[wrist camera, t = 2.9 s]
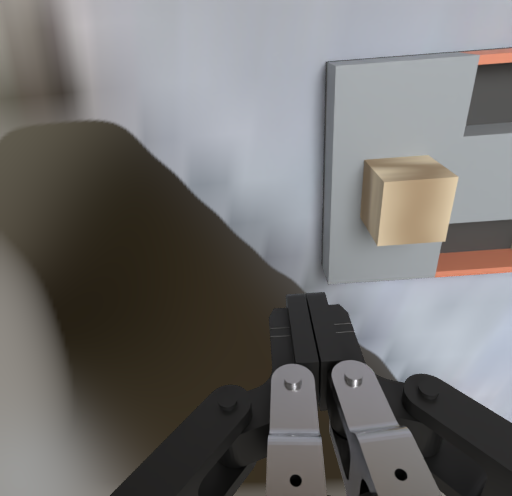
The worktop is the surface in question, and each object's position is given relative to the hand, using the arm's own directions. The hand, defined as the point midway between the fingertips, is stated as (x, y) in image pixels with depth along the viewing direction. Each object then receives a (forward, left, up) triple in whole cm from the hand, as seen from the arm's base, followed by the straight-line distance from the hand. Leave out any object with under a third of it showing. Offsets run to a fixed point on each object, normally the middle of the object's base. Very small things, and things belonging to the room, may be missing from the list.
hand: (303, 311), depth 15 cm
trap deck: (+13, 0, -15) cm, 20 cm away
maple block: (+7, 0, -12) cm, 14 cm away
